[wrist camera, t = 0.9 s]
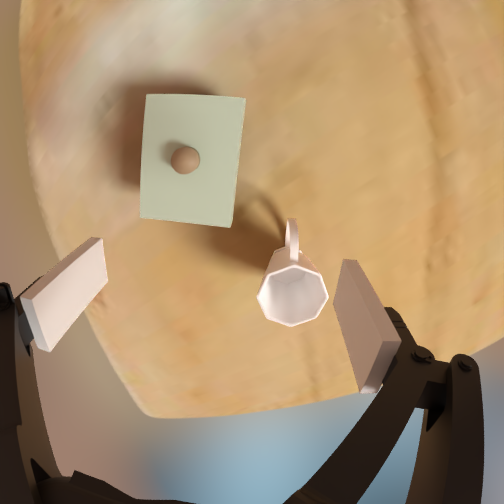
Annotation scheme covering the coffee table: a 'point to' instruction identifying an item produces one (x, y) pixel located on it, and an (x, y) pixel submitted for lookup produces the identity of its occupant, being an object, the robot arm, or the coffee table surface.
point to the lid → (190, 158)
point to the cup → (291, 284)
